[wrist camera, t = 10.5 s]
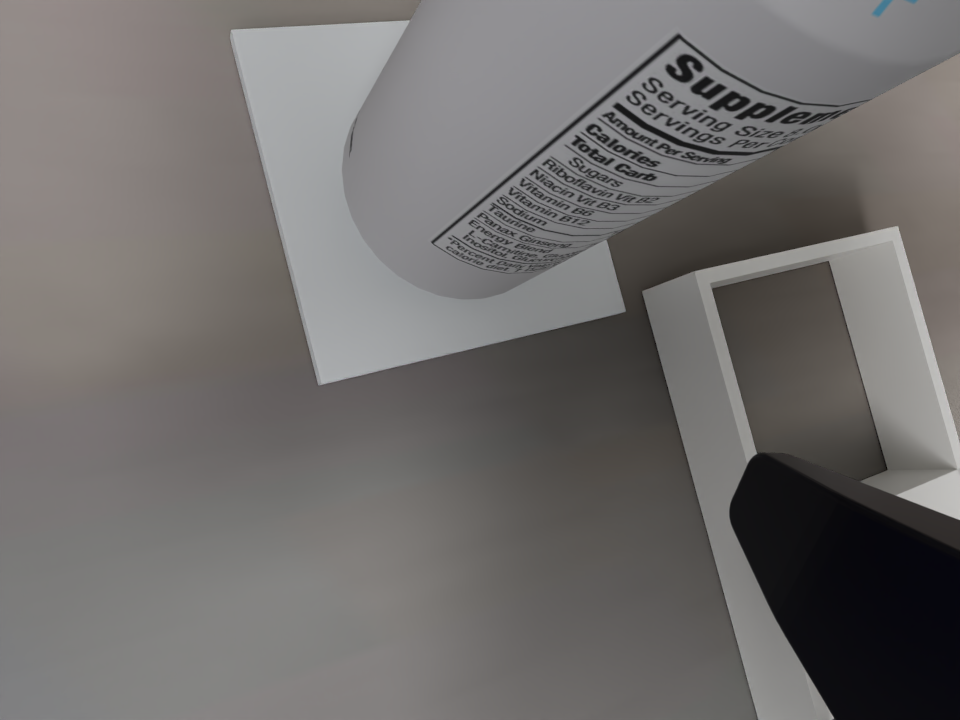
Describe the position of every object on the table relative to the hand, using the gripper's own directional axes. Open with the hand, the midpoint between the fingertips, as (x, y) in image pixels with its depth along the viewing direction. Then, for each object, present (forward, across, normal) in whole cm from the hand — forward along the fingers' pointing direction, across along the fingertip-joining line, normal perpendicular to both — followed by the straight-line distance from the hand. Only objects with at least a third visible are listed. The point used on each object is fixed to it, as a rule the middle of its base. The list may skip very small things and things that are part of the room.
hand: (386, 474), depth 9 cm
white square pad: (+14, +3, -1) cm, 14 cm away
